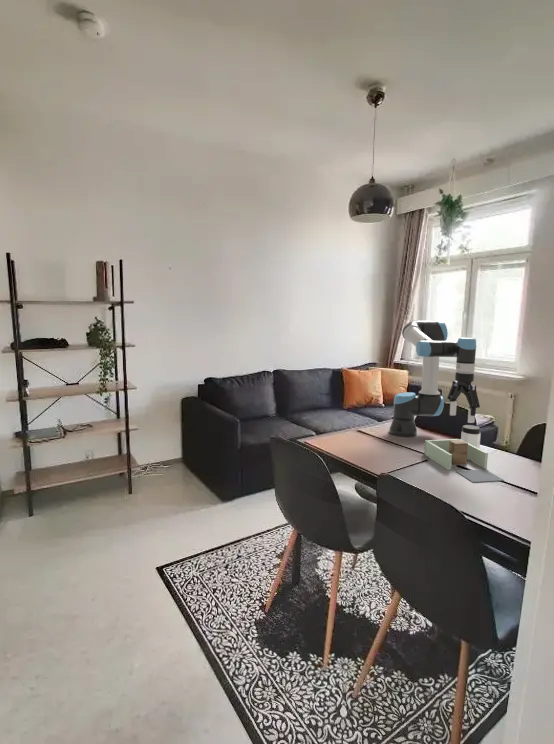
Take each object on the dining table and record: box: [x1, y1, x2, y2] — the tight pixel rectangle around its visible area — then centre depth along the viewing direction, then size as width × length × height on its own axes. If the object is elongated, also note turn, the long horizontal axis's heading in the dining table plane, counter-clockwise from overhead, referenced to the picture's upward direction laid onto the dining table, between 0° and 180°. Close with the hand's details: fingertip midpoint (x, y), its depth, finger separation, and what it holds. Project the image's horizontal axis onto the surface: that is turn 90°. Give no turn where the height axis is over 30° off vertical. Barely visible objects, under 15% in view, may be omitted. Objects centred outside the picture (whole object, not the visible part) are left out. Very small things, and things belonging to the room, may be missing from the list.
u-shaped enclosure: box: [423, 438, 489, 471], centre depth 189 cm, size 21×18×7 cm
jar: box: [460, 424, 482, 449], centre depth 204 cm, size 9×8×12 cm
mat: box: [455, 468, 505, 484], centre depth 171 cm, size 12×14×1 cm
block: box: [449, 440, 468, 466], centre depth 186 cm, size 5×6×10 cm
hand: (461, 418), depth 184 cm, fingers open, 13 cm apart
